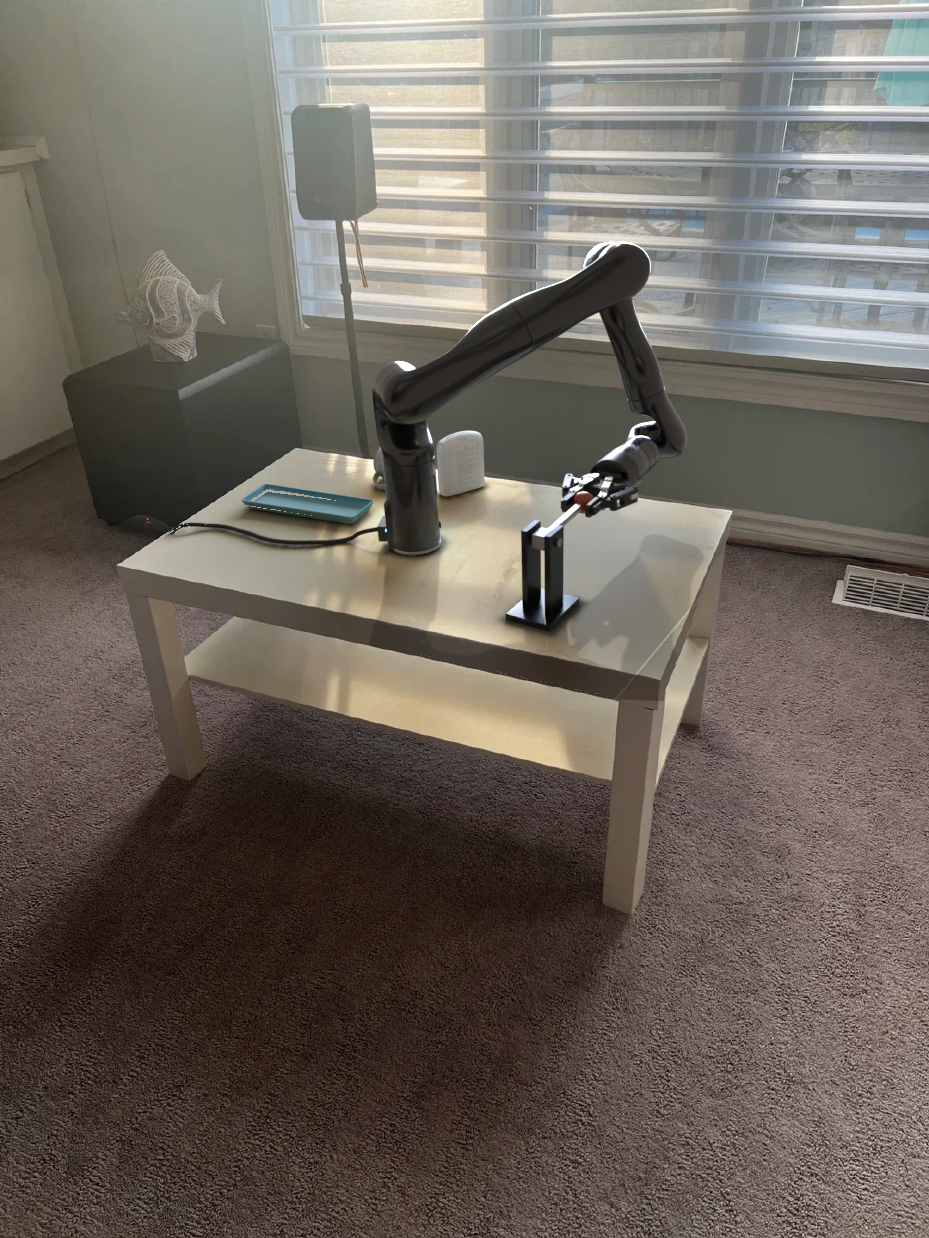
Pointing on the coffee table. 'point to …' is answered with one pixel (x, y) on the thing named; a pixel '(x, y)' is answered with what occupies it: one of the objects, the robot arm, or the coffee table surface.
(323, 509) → the shallow long dish
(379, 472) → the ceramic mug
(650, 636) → the coffee table surface
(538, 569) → the black lever stand
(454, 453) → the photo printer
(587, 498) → the red knobbed lever
